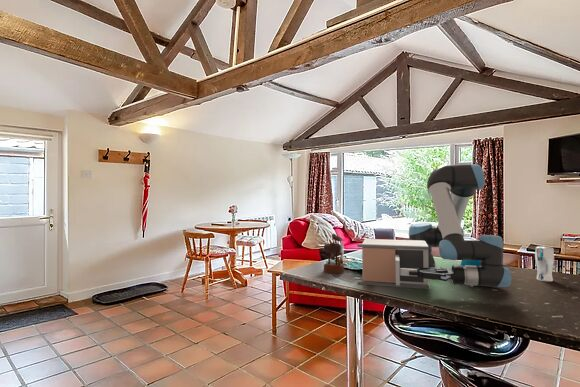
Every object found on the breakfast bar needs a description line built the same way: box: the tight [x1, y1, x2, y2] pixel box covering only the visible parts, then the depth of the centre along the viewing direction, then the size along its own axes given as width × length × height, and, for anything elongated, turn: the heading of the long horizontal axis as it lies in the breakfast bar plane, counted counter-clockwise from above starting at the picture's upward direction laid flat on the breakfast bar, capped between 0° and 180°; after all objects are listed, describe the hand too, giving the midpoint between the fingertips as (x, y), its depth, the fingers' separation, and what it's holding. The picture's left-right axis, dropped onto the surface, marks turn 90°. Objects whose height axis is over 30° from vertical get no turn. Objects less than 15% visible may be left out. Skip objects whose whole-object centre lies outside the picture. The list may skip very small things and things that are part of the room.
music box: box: [318, 233, 345, 275], centre depth 176 cm, size 15×11×20 cm
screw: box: [339, 241, 347, 263], centre depth 193 cm, size 13×5×5 cm
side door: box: [362, 247, 400, 286], centre depth 143 cm, size 16×14×15 cm
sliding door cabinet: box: [356, 238, 430, 290], centre depth 156 cm, size 30×18×18 cm, turn 73°
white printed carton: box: [534, 245, 555, 283], centre depth 154 cm, size 7×7×15 cm
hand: (400, 271), depth 137 cm, fingers closed
